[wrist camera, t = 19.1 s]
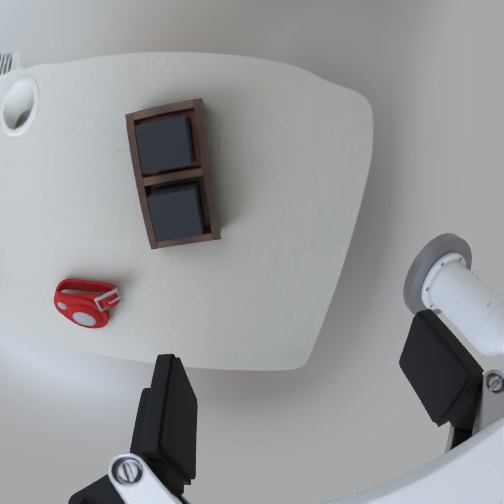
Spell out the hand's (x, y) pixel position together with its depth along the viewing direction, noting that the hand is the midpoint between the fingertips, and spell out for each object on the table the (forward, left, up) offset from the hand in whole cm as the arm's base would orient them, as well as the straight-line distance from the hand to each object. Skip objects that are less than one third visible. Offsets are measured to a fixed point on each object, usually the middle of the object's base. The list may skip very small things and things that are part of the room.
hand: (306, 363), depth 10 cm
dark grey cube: (+8, -1, -25) cm, 26 cm away
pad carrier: (+8, -4, -26) cm, 27 cm away
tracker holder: (+25, +12, -26) cm, 38 cm away
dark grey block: (+7, -8, -25) cm, 27 cm away
